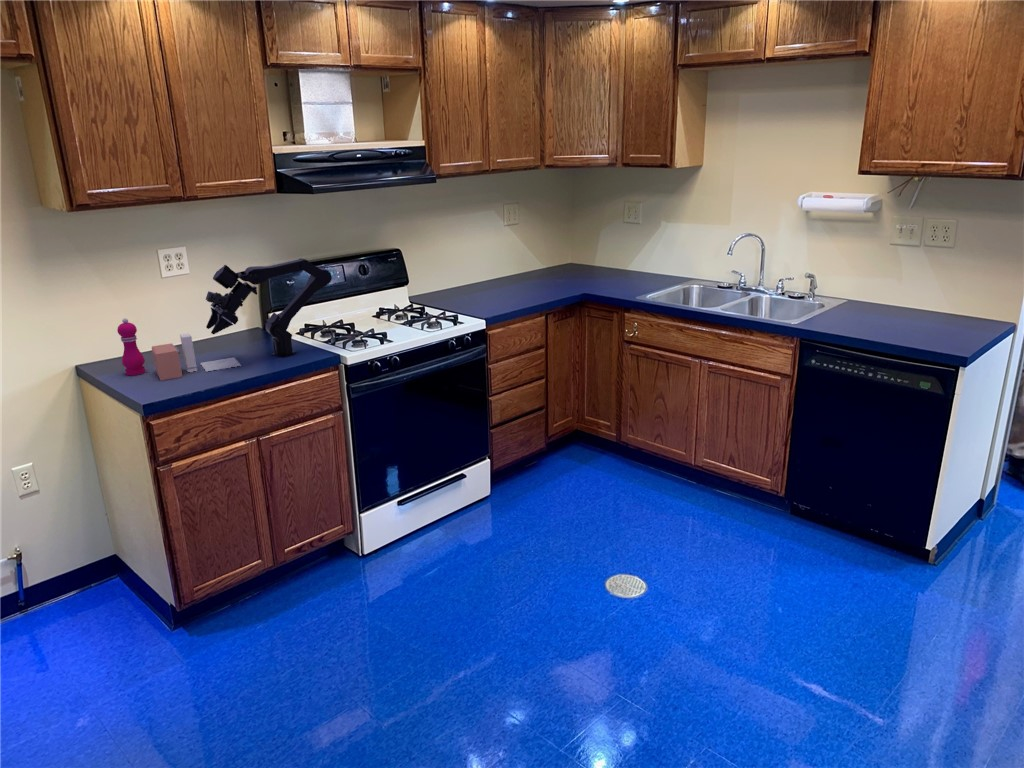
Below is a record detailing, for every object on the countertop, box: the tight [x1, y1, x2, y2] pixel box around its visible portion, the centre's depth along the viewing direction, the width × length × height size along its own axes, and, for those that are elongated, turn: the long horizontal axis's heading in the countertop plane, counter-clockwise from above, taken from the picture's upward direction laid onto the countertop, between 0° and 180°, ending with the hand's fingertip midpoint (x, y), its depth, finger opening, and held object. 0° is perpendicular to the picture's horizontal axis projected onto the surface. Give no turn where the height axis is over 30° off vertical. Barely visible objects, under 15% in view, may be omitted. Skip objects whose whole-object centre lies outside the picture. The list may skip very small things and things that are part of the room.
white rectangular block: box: [179, 333, 198, 373], centre depth 261 cm, size 3×5×13 cm, turn 32°
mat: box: [199, 357, 242, 373], centre depth 268 cm, size 12×12×1 cm
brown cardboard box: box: [151, 342, 183, 381], centre depth 258 cm, size 8×12×9 cm, turn 32°
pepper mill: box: [116, 318, 146, 377], centre depth 258 cm, size 7×7×20 cm
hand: (209, 330), depth 262 cm, fingers open, 9 cm apart
